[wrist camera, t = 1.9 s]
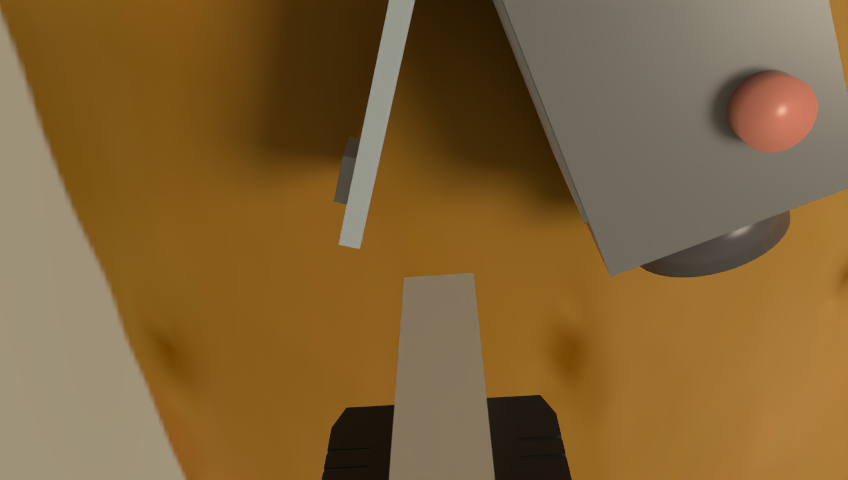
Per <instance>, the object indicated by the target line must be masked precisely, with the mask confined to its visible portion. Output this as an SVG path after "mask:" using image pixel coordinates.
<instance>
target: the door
mask: <svg viewBox="0 0 848 480" xmlns="http://www.w3.org/2000/svg"><path fill="white" fill-rule="evenodd" d="M414 2H415V0H389V4H388V9H387V13H386V18H385V23H384V28H383V33H382V38H381V42H380V47H379V52H378V57H377V62H376V67H375V71H374V76H373V81H372V86H371V91H370V96H369V100H368V105H367V110H366V115H365V120H364V125H363V129H362V134H361V139H359V138H355V137H350V136H349V139H348V142H347V145H346V148H345V151H344V154H343V158H342V163H341V168H340V173H339V178H338V183H337V188H336V194H335V199H334V201H335V202H339V203H344V204H347V207H346V212H345V216H344V221H343V226H342V231H341V236H340V241H339V245H344V246H348V247H353V248H357V249H360V245H361V241H362V236H363V232H364V227H365V223H366V218H367V214H368V209H369V205H370V200H371V196H372V191H373V187H374V182H375V178H376V173H377V169H378V164H379V160H380V155H381V151H382V146H383V142H384V137H385V133H386V128H387V124H388V119H389V115H390V110H391V106H392V101H393V97H394V92H395V88H396V83H397V79H398V74H399V70H400V65H401V61H402V56H403V52H404V47H405V43H406V38H407V34H408V29H409V25H410V20H411V16H412V11H413V7H414Z"/></svg>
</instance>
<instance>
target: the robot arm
mask: <svg viewBox="0 0 848 480" xmlns="http://www.w3.org/2000/svg"><path fill="white" fill-rule="evenodd" d="M322 480H572V479H571V475H570V471H569V467H568V462H567V458H566V455H565V449H564V445H563V441H562V439H561V432H560V428H559V424H558V420H557V415H556V413H555V412H554V410H553V409H552V408H551V407H550V406H549V405H548V404H547V402H546V401H545V400H544V399H543V398H542V397H541V396H540V395H532V396H514V397H497V398H486V389H485V379H484V370H483V360H482V350H481V341H480V331H479V321H478V312H477V302H476V293H475V283H474V273H466V274H450V275H435V276H419V277H404V287H403V300H402V313H401V326H400V340H399V353H398V366H397V379H396V392H395V405H387V406H369V407H351V408H346V409H345V411H344V412H343V413H342V415H341V416H340V417H339V419H338V420H337V421H336V423H335V424H334V425H333V427H332V429H331V434H330V439H329V445H328V454H327V455H326V460H325V466H324V473H323V476H322Z"/></svg>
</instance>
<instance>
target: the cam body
mask: <svg viewBox="0 0 848 480" xmlns="http://www.w3.org/2000/svg"><path fill="white" fill-rule="evenodd" d="M493 3H494V5H495V8H496V10H497V13H498V15H499V18H500V20H501V23H502V25H503V28H504V31H505V33H506V36H507V38H508V41H509V43H510V46H511V48H512V51H513V53H514V56H515V58H516V61H517V63H518V66H519V68H520V71H521V73H522V76H523V78H524V81H525V83H526V86H527V88H528V91H529V93H530V96H531V99H532V101H533V104H534V106H535V109H536V111H537V114H538V116H539V119H540V121H541V124H542V126H543V129H544V131H545V134H546V136H547V139H548V141H549V144H550V146H551V149H552V151H553V154H554V156H555V159H556V161H557V163H558V165H559V168H560V170H561V172H562V174H563V177H564V179H565V181H566V183H567V186H568V188H569V190H570V192H571V195H572V197H573V199H574V201H575V204H576V206H577V208H578V210H579V213H580V215H581V217H582V219H583V222H584V224H585V223H587V226H588V228H589V230H590V232H591V234H592V237H593V239H594V241H595V243H596V245H597V248H598V250H599V252H600V254H601V257H602V259H603V261H604V263H605V265H606V268H607V270H608V272H609V274H610V276H614V275H617V274H619V273H622V272H625V271H627V270H630V269H633V268H636V267H638V266H640V267H642V268H643V269H645V270H647V271H649V272H652V273H654V274H658V275H662V276H668V277H698V276H705V275H711V274H716V273H720V272H724V271H727V270H730V269H733V268H736V267H739V266H741V265H744V264H746V263H748V262H750V261H752V260H754V259H756V258H758V257H759V256H761V255H763V254H764V253H766V252H767V251H769V250H770V249H771V248H773V247H774V246H775V245H776V244H777V243H778V242H779V241H780V240H781V239H782V237H783V236H784V235H785V233H786V231H787V230H788V227H789V224H790V213H789V210H791V209H794V208H797V207H799V206H802V205H805V204H807V203H810V202H813V201H815V200H818V199H821V198H824V197H826V196H829V195H832V194H834V193H837V192H840V191H842V190H845V189H848V95H847V90H846V85H845V80H844V75H843V70H842V65H841V59H840V54H839V49H838V44H837V39H836V34H835V29H834V24H833V19H832V14H831V9H830V4H829V0H493Z"/></svg>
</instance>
